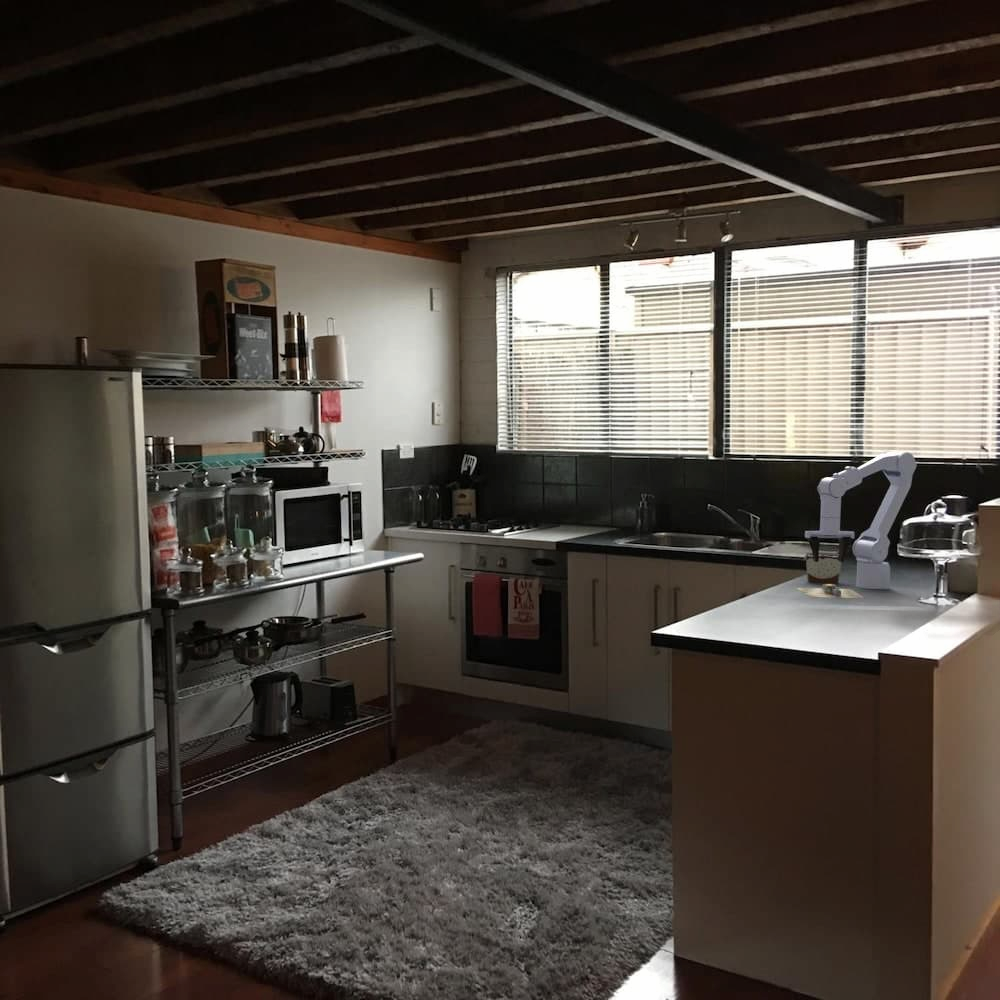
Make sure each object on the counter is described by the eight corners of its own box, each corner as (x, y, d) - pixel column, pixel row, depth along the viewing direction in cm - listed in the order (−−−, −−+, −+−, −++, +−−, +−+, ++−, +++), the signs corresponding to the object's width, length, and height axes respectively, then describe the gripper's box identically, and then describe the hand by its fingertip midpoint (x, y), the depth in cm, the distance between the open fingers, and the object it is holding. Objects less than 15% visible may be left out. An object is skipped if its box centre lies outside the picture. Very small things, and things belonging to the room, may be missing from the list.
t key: (818, 589, 328) (818, 584, 328) (831, 589, 328) (831, 584, 328) (831, 596, 316) (831, 590, 316) (845, 596, 316) (845, 590, 316)
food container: (838, 583, 347) (840, 552, 347) (843, 586, 341) (844, 554, 341) (799, 582, 349) (800, 551, 348) (803, 585, 343) (804, 553, 342)
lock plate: (849, 592, 330) (850, 581, 330) (864, 601, 314) (865, 589, 314) (796, 591, 331) (797, 580, 330) (809, 600, 315) (809, 588, 314)
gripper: (810, 518, 323) (809, 563, 324) (858, 518, 324) (857, 563, 325) (803, 515, 330) (801, 560, 331) (850, 516, 331) (848, 560, 332)
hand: (828, 561), depth 328 cm, fingers open, 7 cm apart
